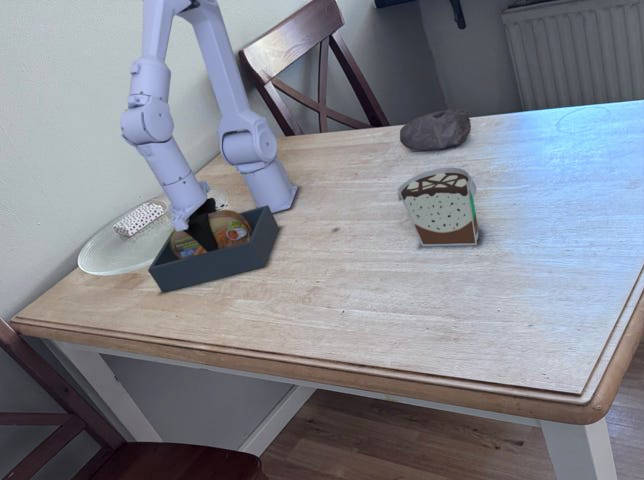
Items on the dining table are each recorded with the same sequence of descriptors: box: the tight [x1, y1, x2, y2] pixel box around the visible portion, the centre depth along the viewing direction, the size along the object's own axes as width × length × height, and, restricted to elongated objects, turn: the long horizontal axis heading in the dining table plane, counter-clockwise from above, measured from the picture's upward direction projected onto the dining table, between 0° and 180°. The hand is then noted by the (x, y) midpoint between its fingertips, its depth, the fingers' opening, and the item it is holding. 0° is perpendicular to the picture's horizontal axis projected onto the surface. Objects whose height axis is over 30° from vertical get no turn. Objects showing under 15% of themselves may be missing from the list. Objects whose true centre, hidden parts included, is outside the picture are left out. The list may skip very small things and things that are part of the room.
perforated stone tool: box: [399, 107, 472, 152], centre depth 125 cm, size 15×5×7 cm, turn 67°
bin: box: [147, 205, 280, 293], centre depth 116 cm, size 14×20×5 cm
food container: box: [397, 166, 480, 247], centre depth 96 cm, size 12×6×10 cm, turn 65°
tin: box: [169, 209, 252, 259], centre depth 115 cm, size 15×3×8 cm, turn 88°
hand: (214, 245), depth 116 cm, fingers closed on tin, 2 cm apart
